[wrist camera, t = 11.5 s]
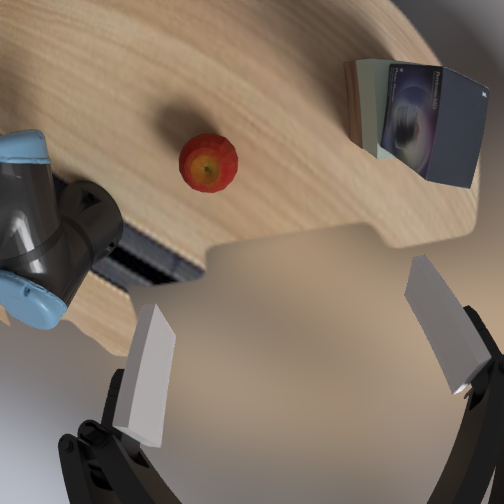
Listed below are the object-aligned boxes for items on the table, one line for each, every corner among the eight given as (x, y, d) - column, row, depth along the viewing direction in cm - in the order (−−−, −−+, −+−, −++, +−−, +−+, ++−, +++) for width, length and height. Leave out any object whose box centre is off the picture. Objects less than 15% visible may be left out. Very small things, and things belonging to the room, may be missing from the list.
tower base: (350, 140, 37) (362, 148, 33) (343, 62, 30) (355, 61, 26) (401, 139, 36) (417, 147, 32) (398, 65, 29) (415, 66, 25)
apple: (228, 120, 35) (222, 130, 29) (247, 169, 40) (246, 189, 33) (178, 140, 37) (162, 155, 30) (199, 186, 41) (189, 209, 35)
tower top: (362, 147, 33) (377, 158, 29) (355, 60, 26) (371, 58, 22) (417, 146, 32) (436, 157, 28) (415, 65, 25) (436, 66, 21)
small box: (385, 61, 22) (442, 62, 13) (431, 75, 22) (492, 87, 13) (376, 147, 28) (424, 182, 19) (420, 155, 28) (472, 190, 19)
